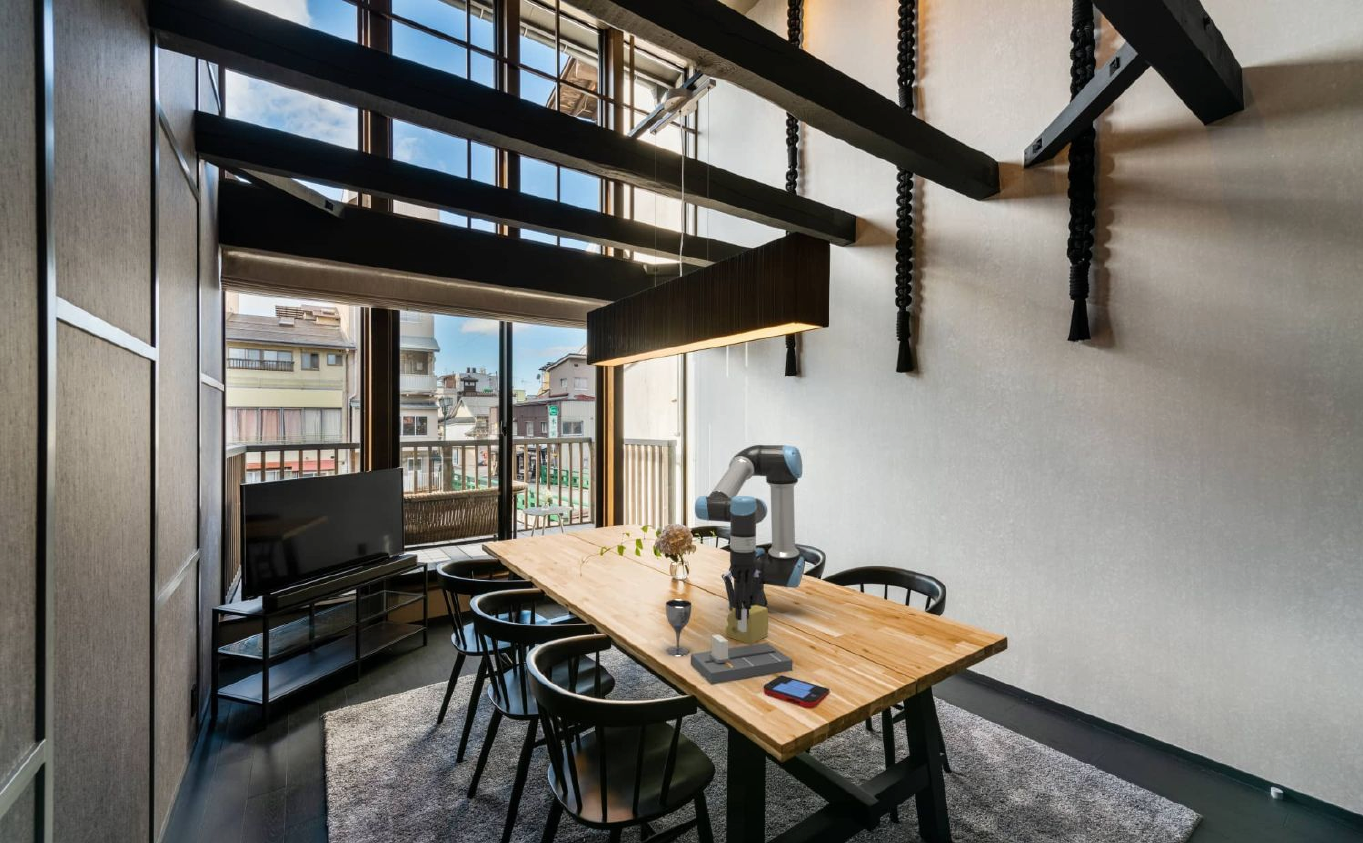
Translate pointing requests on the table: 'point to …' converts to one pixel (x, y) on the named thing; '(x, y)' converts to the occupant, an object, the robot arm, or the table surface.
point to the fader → (719, 649)
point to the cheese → (749, 625)
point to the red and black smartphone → (795, 691)
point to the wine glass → (678, 621)
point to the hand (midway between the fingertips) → (742, 630)
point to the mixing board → (742, 663)
